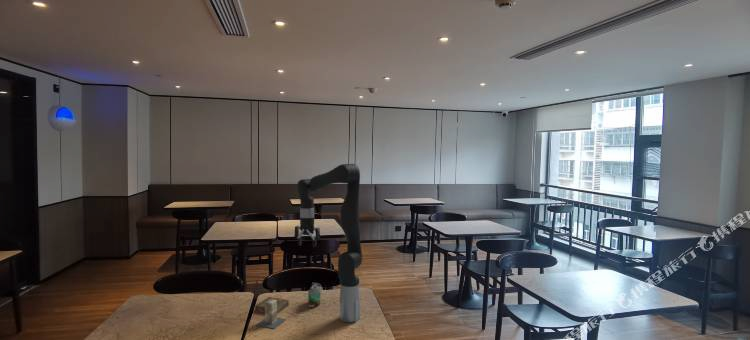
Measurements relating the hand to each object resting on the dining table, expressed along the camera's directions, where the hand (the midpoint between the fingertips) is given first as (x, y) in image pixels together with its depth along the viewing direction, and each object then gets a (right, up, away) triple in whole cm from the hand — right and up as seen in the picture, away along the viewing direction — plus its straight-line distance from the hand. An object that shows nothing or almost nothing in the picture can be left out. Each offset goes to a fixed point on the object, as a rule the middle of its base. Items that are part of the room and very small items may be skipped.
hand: (307, 246), depth 205 cm
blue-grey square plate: (-13, -31, -25) cm, 42 cm away
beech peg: (-13, -31, -25) cm, 42 cm away
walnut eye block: (-16, -31, -9) cm, 36 cm away
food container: (+5, -31, -4) cm, 31 cm away
